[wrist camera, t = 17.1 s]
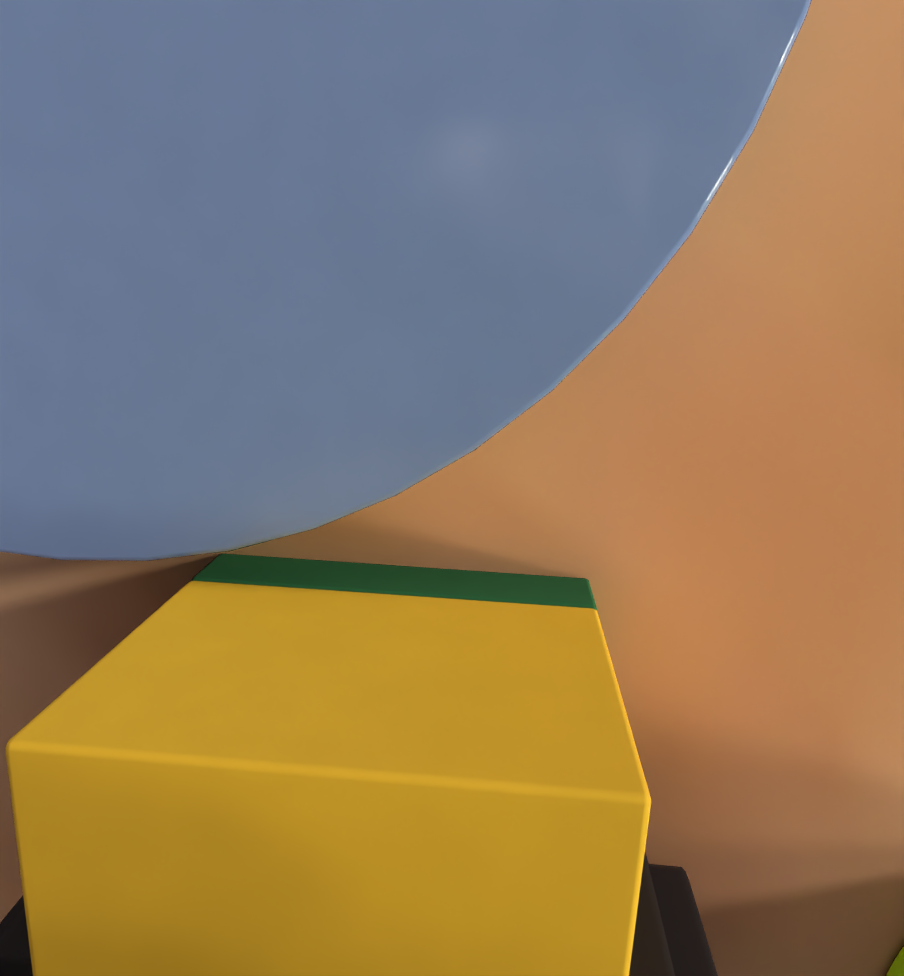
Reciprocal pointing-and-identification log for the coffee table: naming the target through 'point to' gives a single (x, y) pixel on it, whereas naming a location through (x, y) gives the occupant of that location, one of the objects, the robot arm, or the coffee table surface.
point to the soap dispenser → (897, 965)
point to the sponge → (338, 783)
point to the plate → (328, 240)
